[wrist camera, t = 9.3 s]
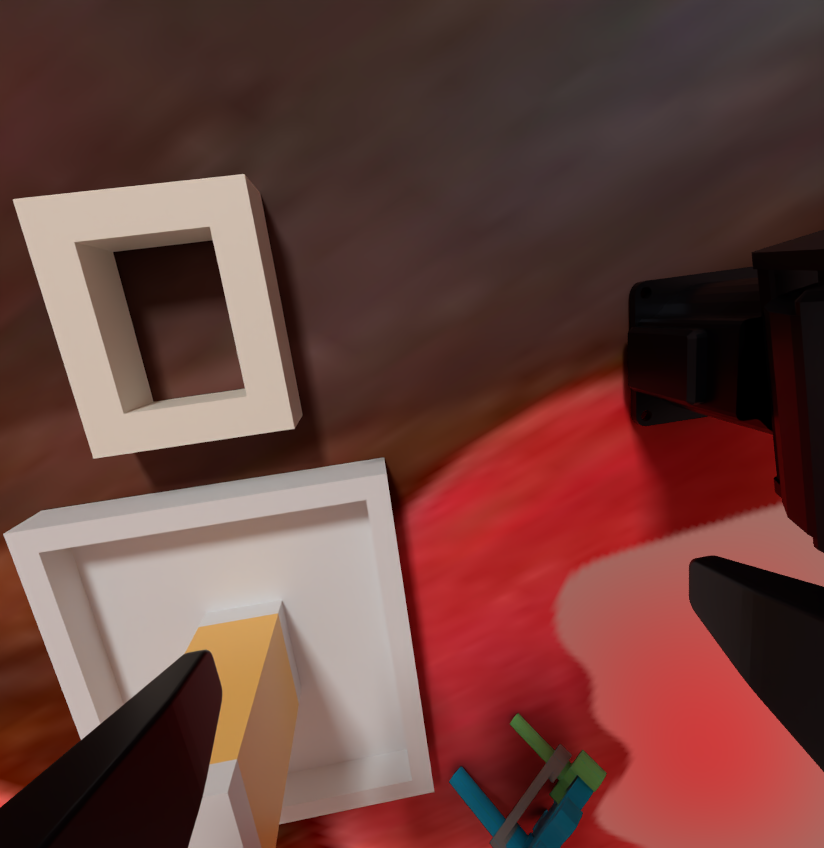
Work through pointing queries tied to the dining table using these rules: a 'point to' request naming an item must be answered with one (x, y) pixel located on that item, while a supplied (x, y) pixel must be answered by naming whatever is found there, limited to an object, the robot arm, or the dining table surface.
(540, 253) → the dining table surface
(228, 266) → the white shallow boxy piece
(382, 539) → the parts tray
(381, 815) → the dining table surface
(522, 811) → the blue toy water gun
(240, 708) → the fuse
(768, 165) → the dining table surface
